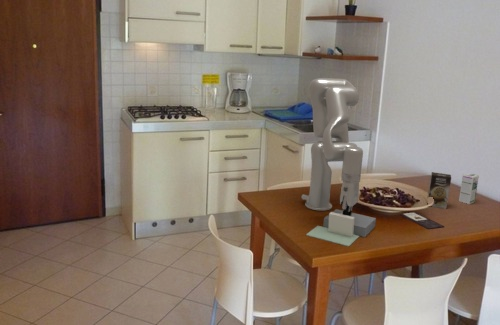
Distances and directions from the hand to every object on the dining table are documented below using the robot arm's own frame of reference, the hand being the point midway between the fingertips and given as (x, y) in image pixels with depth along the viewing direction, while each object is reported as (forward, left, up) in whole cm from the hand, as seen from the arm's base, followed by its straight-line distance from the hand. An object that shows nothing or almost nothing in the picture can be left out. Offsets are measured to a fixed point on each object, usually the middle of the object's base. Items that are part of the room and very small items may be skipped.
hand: (346, 219), depth 200 cm
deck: (0, +5, -5) cm, 7 cm away
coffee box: (+25, +60, -5) cm, 66 cm away
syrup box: (+37, +77, -5) cm, 86 cm away
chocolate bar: (+24, +33, -6) cm, 41 cm away
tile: (0, -4, 0) cm, 5 cm away
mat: (-2, -9, -5) cm, 10 cm away
